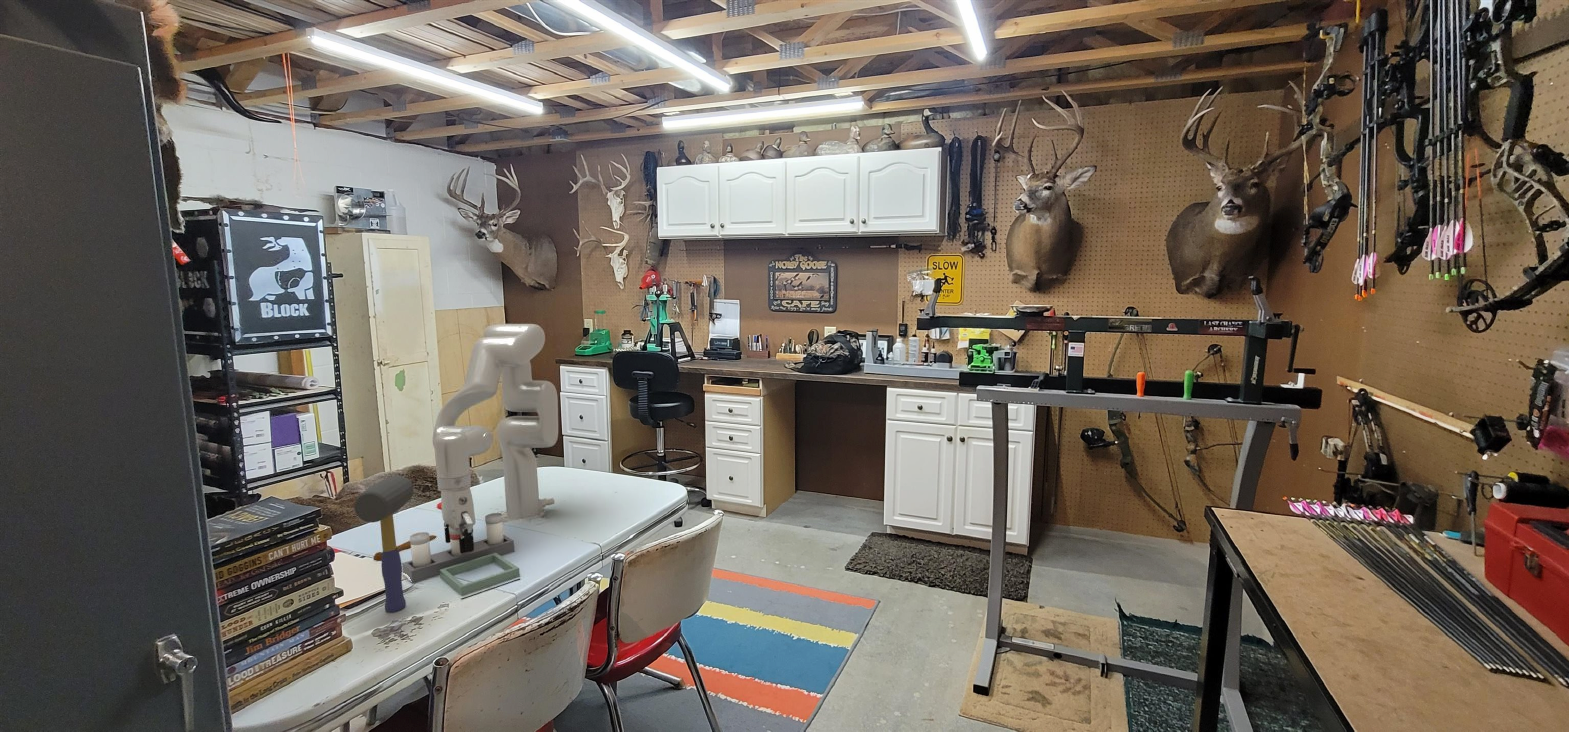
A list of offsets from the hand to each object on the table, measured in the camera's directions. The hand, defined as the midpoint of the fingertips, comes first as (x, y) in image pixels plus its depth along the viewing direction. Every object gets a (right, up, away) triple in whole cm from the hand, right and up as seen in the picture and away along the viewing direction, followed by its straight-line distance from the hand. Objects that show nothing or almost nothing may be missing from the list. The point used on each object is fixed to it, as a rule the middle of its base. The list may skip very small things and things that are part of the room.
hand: (459, 546), depth 167 cm
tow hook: (-26, 0, +47) cm, 54 cm away
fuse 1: (-6, -5, -6) cm, 10 cm away
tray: (+9, -6, -8) cm, 13 cm away
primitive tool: (-21, -5, +12) cm, 25 cm away
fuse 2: (+6, -3, +7) cm, 10 cm away
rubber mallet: (-3, -9, -22) cm, 24 cm away
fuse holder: (0, -5, +1) cm, 5 cm away
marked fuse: (0, -4, +1) cm, 4 cm away
